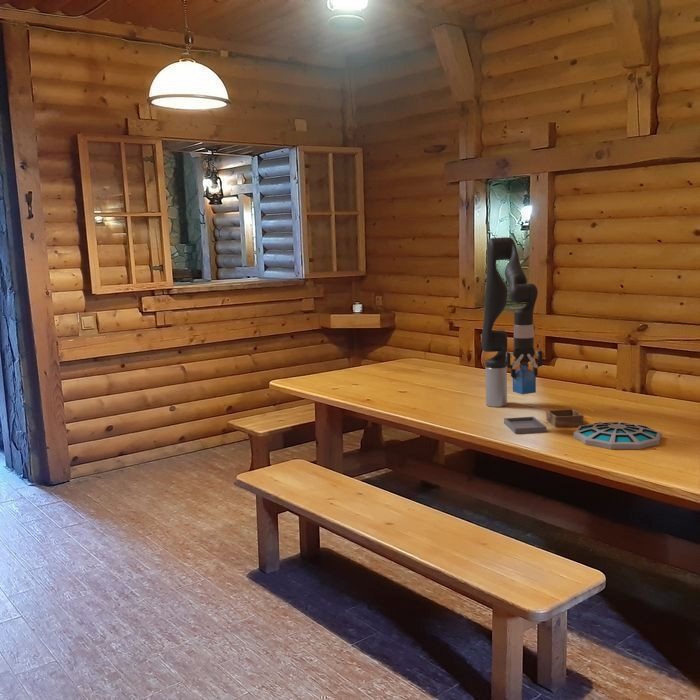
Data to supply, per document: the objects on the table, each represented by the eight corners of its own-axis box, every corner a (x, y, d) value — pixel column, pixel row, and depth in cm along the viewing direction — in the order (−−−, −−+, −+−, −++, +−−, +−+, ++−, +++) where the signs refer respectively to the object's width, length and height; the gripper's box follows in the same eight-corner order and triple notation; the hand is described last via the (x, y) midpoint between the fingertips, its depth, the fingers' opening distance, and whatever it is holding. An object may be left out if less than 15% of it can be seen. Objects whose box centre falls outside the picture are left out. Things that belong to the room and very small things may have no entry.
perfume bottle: (512, 391, 284) (512, 361, 282) (525, 389, 287) (525, 359, 285) (522, 394, 279) (522, 363, 277) (535, 392, 281) (535, 361, 279)
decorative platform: (558, 440, 266) (558, 427, 265) (596, 423, 286) (596, 411, 286) (641, 456, 244) (641, 441, 244) (676, 436, 264) (676, 423, 264)
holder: (546, 420, 294) (546, 410, 293) (573, 418, 294) (573, 408, 294) (555, 427, 283) (555, 417, 282) (583, 425, 283) (583, 415, 283)
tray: (504, 423, 292) (504, 418, 292) (533, 421, 293) (533, 416, 292) (515, 433, 276) (515, 428, 276) (546, 431, 277) (546, 426, 277)
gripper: (539, 333, 283) (539, 375, 286) (502, 335, 282) (503, 377, 285) (545, 336, 276) (545, 378, 278) (507, 338, 275) (508, 380, 278)
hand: (524, 377), depth 282 cm, fingers closed on perfume bottle, 7 cm apart
